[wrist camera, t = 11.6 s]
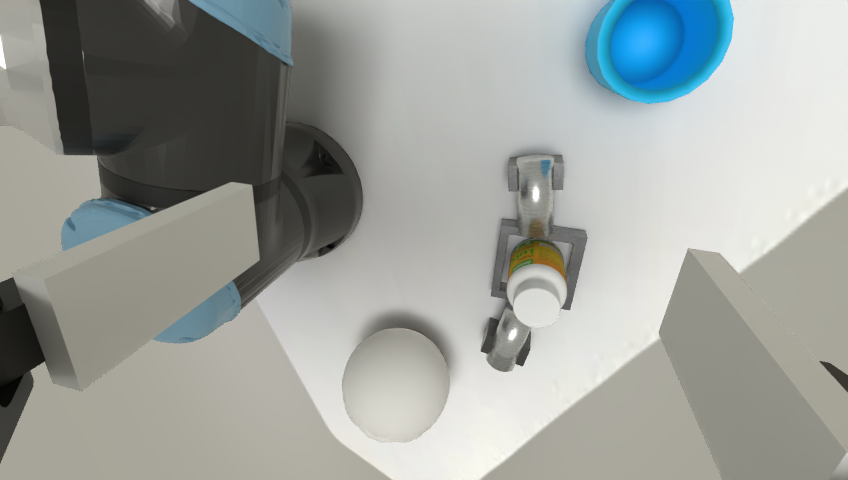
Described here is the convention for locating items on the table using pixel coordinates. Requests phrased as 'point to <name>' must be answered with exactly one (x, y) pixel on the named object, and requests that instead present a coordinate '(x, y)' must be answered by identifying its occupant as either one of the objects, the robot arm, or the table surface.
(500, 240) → the collar
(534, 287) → the supplement bottle
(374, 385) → the decorative ball
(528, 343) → the shaft
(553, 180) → the shaft
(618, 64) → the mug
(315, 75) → the table surface
